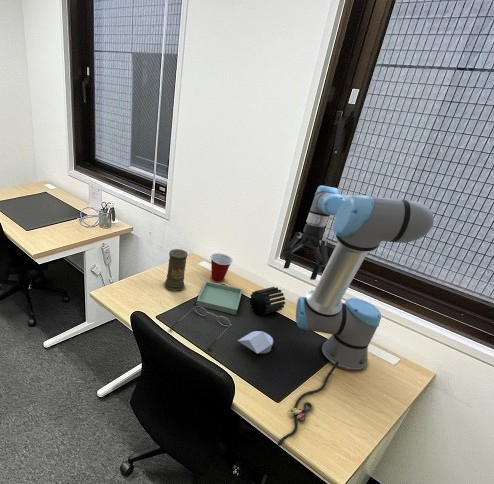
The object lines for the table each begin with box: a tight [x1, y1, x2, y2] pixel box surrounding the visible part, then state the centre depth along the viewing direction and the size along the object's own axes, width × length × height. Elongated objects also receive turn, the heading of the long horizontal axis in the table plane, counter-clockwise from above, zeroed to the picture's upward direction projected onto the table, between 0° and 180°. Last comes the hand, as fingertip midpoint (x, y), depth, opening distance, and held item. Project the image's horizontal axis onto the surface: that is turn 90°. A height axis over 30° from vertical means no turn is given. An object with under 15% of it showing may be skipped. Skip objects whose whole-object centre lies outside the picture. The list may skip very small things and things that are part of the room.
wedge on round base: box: [237, 330, 274, 354], centre depth 144 cm, size 9×7×13 cm
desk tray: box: [195, 280, 244, 315], centre depth 173 cm, size 19×18×3 cm
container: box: [164, 248, 188, 292], centre depth 177 cm, size 9×9×18 cm
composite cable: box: [288, 401, 313, 423], centre depth 118 cm, size 10×5×2 cm, turn 120°
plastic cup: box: [210, 252, 234, 283], centre depth 186 cm, size 11×11×12 cm
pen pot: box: [249, 286, 286, 317], centre depth 164 cm, size 10×11×11 cm
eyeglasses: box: [169, 305, 233, 351], centre depth 153 cm, size 18×19×4 cm
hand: (298, 273), depth 162 cm, fingers open, 13 cm apart
